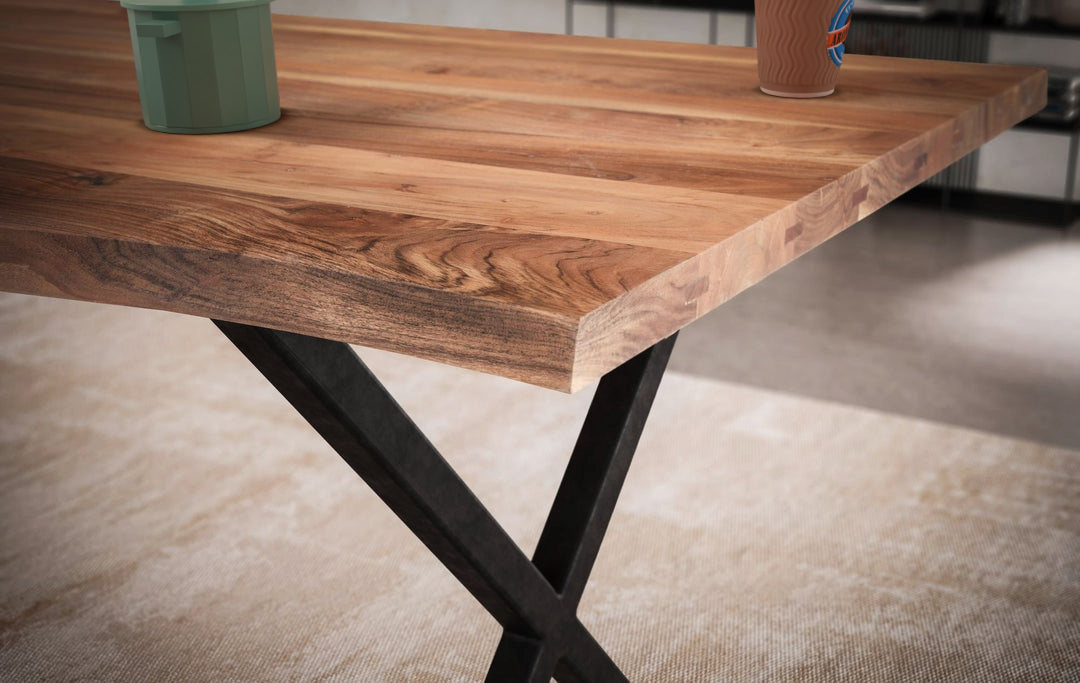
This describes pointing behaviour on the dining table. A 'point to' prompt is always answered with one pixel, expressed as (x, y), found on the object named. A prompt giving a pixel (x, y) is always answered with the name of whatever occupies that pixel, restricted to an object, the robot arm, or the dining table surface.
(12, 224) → the dining table surface
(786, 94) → the coffee cup
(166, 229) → the dining table surface
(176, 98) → the pot
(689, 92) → the dining table surface
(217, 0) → the lid
